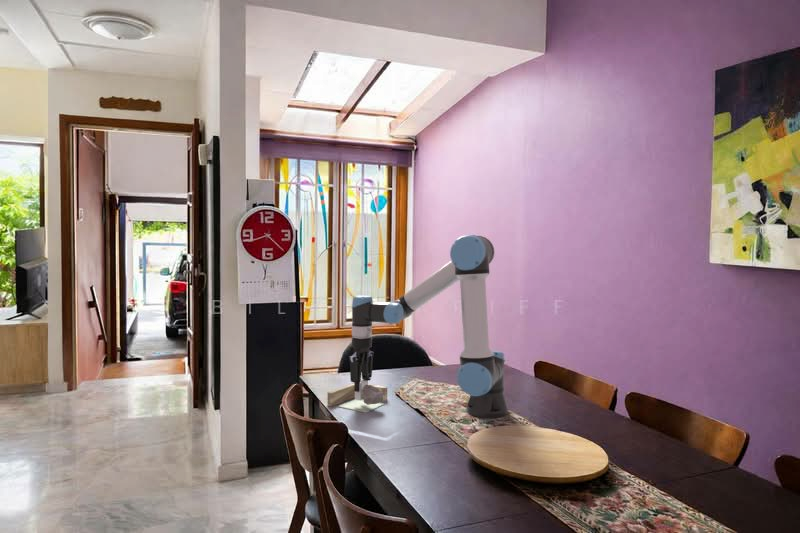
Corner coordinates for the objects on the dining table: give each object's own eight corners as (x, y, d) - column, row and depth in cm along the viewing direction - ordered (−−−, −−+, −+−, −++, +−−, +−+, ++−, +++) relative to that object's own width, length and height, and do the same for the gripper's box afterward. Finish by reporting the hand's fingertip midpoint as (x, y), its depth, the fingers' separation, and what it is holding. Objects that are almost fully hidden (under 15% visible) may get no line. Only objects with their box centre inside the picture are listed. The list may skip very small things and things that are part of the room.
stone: (352, 399, 196) (354, 384, 196) (371, 398, 200) (372, 383, 201) (366, 406, 188) (367, 390, 188) (385, 405, 192) (386, 389, 192)
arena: (387, 399, 207) (387, 387, 207) (359, 411, 191) (360, 398, 191) (356, 394, 215) (356, 381, 215) (327, 405, 199) (327, 392, 199)
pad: (384, 404, 201) (384, 403, 201) (366, 412, 191) (366, 411, 191) (356, 399, 208) (356, 398, 207) (337, 406, 197) (337, 406, 197)
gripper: (357, 340, 189) (356, 405, 190) (381, 334, 203) (381, 395, 204) (340, 338, 193) (340, 402, 194) (365, 333, 207) (365, 392, 208)
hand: (361, 398), depth 199 cm, fingers closed on stone, 3 cm apart
